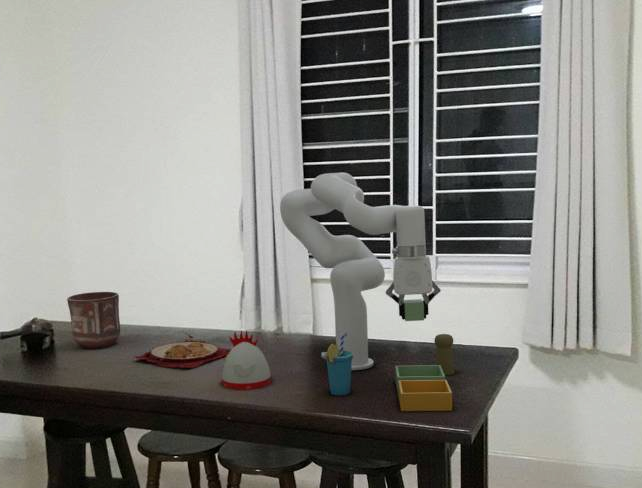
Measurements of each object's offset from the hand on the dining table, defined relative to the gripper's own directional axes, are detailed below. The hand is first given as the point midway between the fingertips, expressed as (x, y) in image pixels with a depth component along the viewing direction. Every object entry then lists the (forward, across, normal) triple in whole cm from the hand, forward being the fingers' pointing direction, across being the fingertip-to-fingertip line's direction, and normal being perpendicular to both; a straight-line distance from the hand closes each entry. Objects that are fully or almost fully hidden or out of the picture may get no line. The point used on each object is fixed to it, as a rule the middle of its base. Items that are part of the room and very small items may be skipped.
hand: (413, 317), depth 207 cm
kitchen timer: (+17, -48, +2) cm, 51 cm away
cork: (+18, +9, +8) cm, 21 cm away
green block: (0, 0, 0) cm, 0 cm away
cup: (+18, -21, -9) cm, 29 cm away
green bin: (+18, 0, -6) cm, 19 cm away
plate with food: (+16, -71, +32) cm, 80 cm away
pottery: (+15, -107, +52) cm, 120 cm away
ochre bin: (+18, 0, -20) cm, 27 cm away
